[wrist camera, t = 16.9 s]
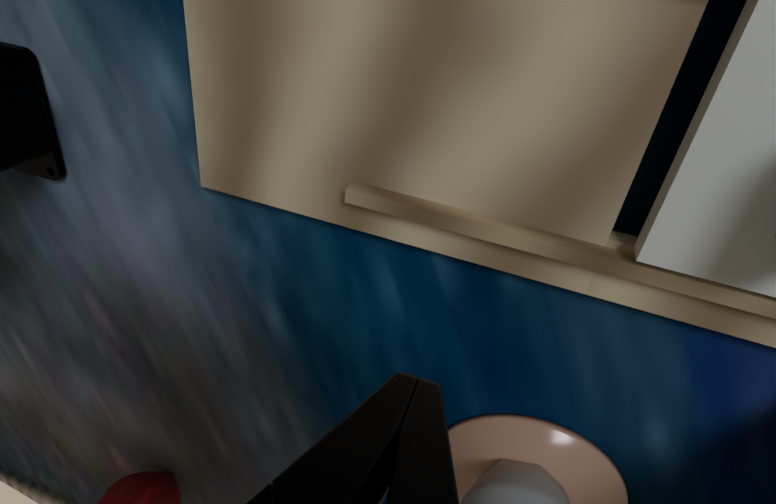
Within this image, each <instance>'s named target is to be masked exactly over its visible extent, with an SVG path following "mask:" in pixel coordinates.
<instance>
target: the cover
mask: <svg viewBox="0 0 776 504" xmlns="http://www.w3.org/2000/svg"><path fill="white" fill-rule="evenodd" d="M634 251H635V257H636V261H638V262H642V263H646V264H650V265H653V266H657V267H661V268H665V269H669V270H672V271H676V272H680V273H684V274H688V275H691V276H695V277H699V278H703V279H707V280H710V281H714V282H718V283H722V284H726V285H730V286H733V287H737V288H741V289H745V290H749V291H752V292H756V293H760V294H764V295H768V296H771V297H775V298H776V0H747V1H746V3H745V5H744V8H743V10H742V12H741V14H740V16H739V18H738V21H737V23H736V25H735V27H734V29H733V32H732V34H731V36H730V38H729V40H728V42H727V45H726V47H725V49H724V51H723V53H722V56H721V58H720V60H719V62H718V64H717V66H716V69H715V71H714V73H713V75H712V77H711V80H710V82H709V84H708V86H707V88H706V90H705V93H704V95H703V97H702V99H701V101H700V104H699V106H698V108H697V110H696V112H695V114H694V117H693V119H692V121H691V123H690V125H689V127H688V130H687V132H686V134H685V136H684V138H683V141H682V143H681V145H680V147H679V149H678V151H677V154H676V156H675V158H674V160H673V162H672V165H671V167H670V169H669V171H668V173H667V175H666V178H665V180H664V182H663V184H662V186H661V189H660V191H659V193H658V195H657V197H656V199H655V202H654V204H653V206H652V208H651V210H650V213H649V215H648V217H647V219H646V221H645V223H644V226H643V228H642V230H641V232H640V234H639V236H638V239H637V241H636V243H635V245H634Z"/></svg>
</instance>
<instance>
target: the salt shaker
mask: <svg viewBox="0 0 776 504" xmlns="http://www.w3.org/2000/svg"><path fill="white" fill-rule="evenodd" d="M460 504H571V503H570V501H569V499H568V496H567V494H566V492H565V490H564V487H563V486H562V485H560V484H559V483H558V482H557V481H556V480H555V479H554V478H553V477H552V476H551V475H550V474H549V473H548V472H547V471H546V470H545V469H544V468H543V467H542V466H541V465H539V464H534V463H528V462H522V461H516V460H511V459H505V458H503V459H502V460H500V461H499V462H497V463H496V464H494V465H493V466H492V467H490V468H489V469H487V470H486V471H484V472H483V473H482V474H481V475H480V477H479V478H478V479H477V481H476V482H475V483H474V484H473V486H472V487H471V488H470V489H469V491H468V492H467V493H466V495H465V496H464V497H463V499H462V500H461V503H460Z"/></svg>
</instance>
